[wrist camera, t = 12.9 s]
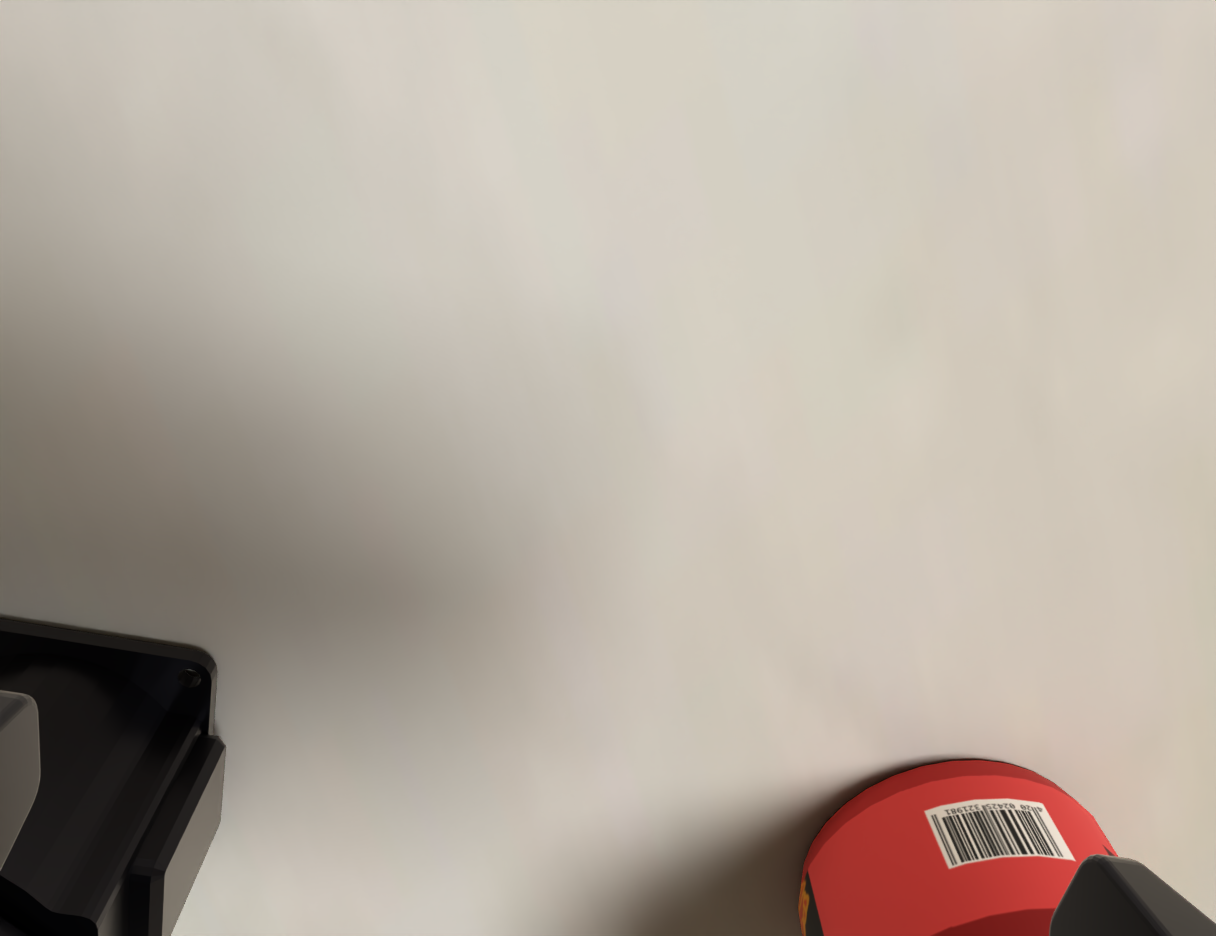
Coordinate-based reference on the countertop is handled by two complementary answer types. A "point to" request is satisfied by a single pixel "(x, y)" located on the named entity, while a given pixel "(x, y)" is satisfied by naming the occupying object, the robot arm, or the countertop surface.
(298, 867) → the countertop surface
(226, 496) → the countertop surface
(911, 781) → the canned food
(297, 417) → the countertop surface
